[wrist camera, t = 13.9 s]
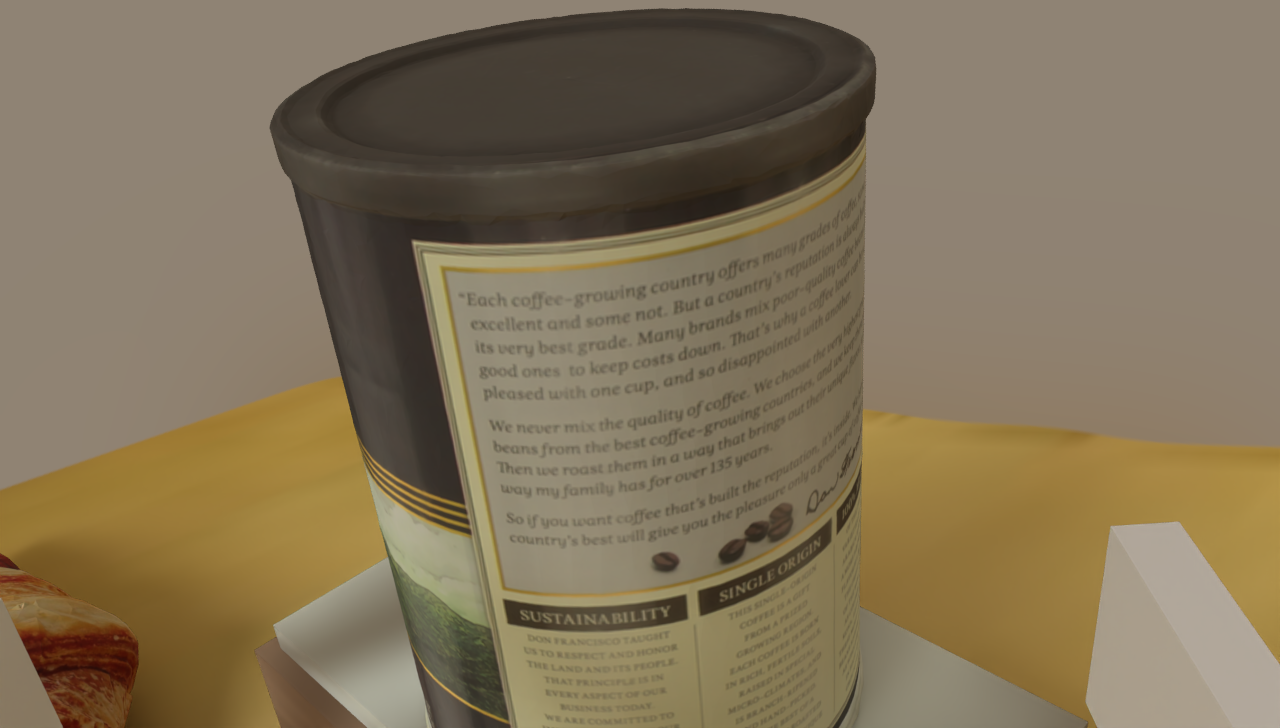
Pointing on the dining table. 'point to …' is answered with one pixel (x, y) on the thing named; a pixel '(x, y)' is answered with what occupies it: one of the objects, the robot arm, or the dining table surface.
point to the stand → (395, 706)
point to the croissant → (72, 650)
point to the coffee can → (606, 358)
